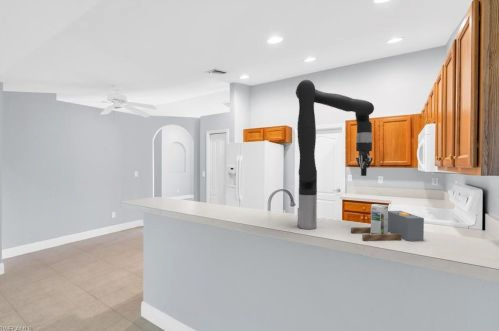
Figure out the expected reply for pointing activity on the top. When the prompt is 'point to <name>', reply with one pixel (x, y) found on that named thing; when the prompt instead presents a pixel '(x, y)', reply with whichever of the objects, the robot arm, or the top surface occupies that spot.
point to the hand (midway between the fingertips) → (363, 175)
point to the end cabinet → (406, 226)
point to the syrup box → (379, 219)
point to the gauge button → (403, 213)
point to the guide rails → (374, 235)
